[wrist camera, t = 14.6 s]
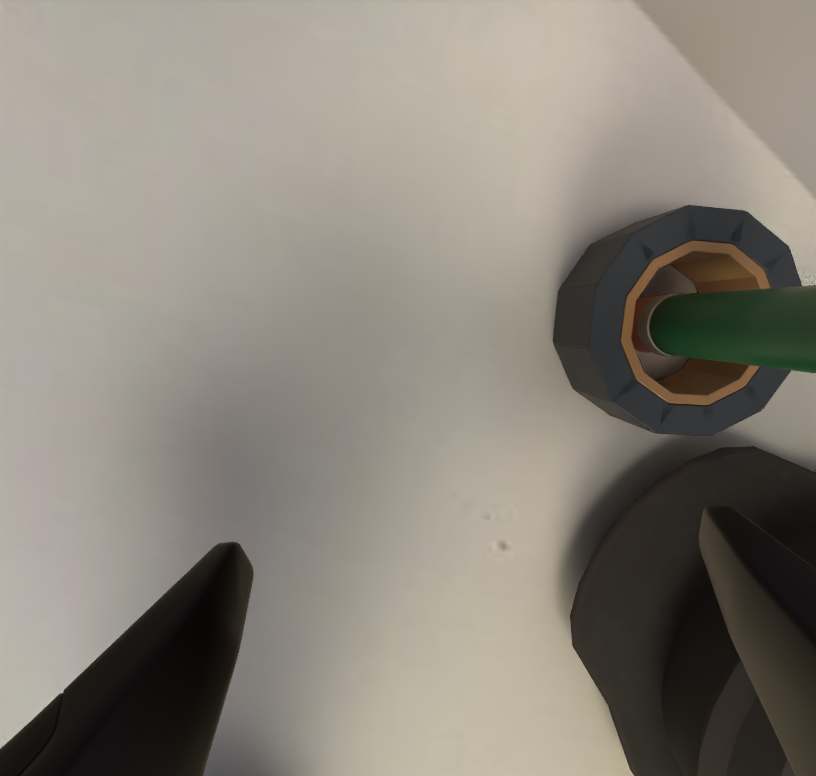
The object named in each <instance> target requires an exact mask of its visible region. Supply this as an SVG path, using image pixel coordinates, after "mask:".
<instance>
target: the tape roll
mask: <svg viewBox="0 0 816 776" xmlns="http://www.w3.org/2000/svg"><path fill="white" fill-rule="evenodd" d="M667 264H671V265H673V266H674V267H675V268H677V269H678V270H679V271H680V272H682V273H683V274H684V275H685V276H687V277H688V278H689V279H691V280H692V281H693V282H694V283H695V285H696V288H697V291H698V293H707V292H722V291H737V290H752V289H767V288H782V287H798V286H802V284H801V281H800V278H799V275H798V272H797V269H796V266H795V263H794V260H793V257H792V254H791V251H790V249H789V246H788V245H786V244H785V243H784V242H783V241H782V240H780V239H779V238H778V237H777V236H776V235H774V234H773V233H772V232H771V231H770V230H768V229H767V228H766V227H765V226H764V225H762V224H761V223H760V222H759V221H758V220H756V219H755V218H754V217H753V216H752V215H750V214H749V213H748V212H746V211H743V210H733V209H723V208H713V207H703V206H693V205H688V206H684V207H681V208H678V209H675V210H672V211H669V212H666V213H663V214H660V215H657V216H654V217H651V218H648V219H645V220H642V221H639V222H636V223H634V224H632V225H630V226H628V227H626V228H624V229H622V230H620V231H618V232H616V233H614V234H612V235H610V236H608V237H606V238H603V239H601V240H599V241H597V242H595V243H593V244H591V245H590V246H589V247H588V249H587V250H586V251H585V253H584V254H583V256H582V257H581V259H580V260H579V262H578V263H577V265H576V266H575V267H574V269H573V270H572V272H571V273H570V275H569V276H568V278H567V279H566V281H565V282H564V283H563V285H562V286H561V288H560V290H559V292H558V301H557V311H556V320H555V329H554V338H553V343H554V346H555V348H556V351H557V353H558V355H559V358H560V360H561V362H562V365H563V367H564V369H565V372H566V374H567V376H568V379H569V381H570V383H571V386H572V387H573V389H574V390H575V391H576V392H578V393H579V394H581V395H582V396H584V397H585V398H586V399H588V400H589V401H591V402H592V403H594V404H595V405H596V406H598V407H599V408H601V409H602V410H604V411H605V412H606V413H608V414H609V415H611V416H613V417H616V418H618V419H621V420H623V421H626V422H628V423H631V424H633V425H636V426H638V427H641V428H643V429H646V430H648V431H651V432H653V433H657V434H676V435H696V436H712V435H714V434H716V433H718V432H720V431H722V430H724V429H726V428H728V427H730V426H732V425H734V424H736V423H738V422H740V421H742V420H744V419H746V418H748V417H750V416H752V415H754V414H756V413H758V412H760V411H761V410H762V409H763V408H764V407H765V406H766V404H767V403H768V401H769V400H770V399H771V397H772V396H773V395H774V393H775V392H776V390H777V389H778V388H779V386H780V385H781V384H782V382H783V381H784V380H785V378H786V377H787V375H788V374H789V373H790V371H791V370H785V369H777V368H769V367H761V366H753V365H745V364H738V363H730V362H722V361H714V360H706V359H698V358H690V359H689V360H688V362H687V363H686V364H685V366H684V367H683V369H682V370H680V371H678V372H676V373H674V374H672V375H670V376H668V377H666V378H664V379H662V380H660V381H658V382H656V381H655V380H654V379H652V378H651V377H650V376H648V375H647V374H646V373H644V370H643V368H642V365H641V363H640V360H639V358H638V355H637V353H636V350H635V348H634V345H633V343H632V340H631V336H632V328H633V320H634V313H635V305H636V300H637V299H638V297H639V296H640V294H641V293H642V291H643V290H644V289H645V287H646V286H647V284H648V283H649V281H650V280H651V279H652V277H653V276H654V274H655V273H656V271H657V270H658V269H659V268H661V267H663V266H665V265H667Z"/></svg>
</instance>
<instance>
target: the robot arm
mask: <svg viewBox="0 0 816 776" xmlns="http://www.w3.org/2000/svg"><path fill="white" fill-rule="evenodd" d="M699 546H700V550H701V554H702V556H703V559H704V562H705V565H706V568H707V571H708V574H709V577H710V580H711V583H712V586H713V589H714V592H715V594H716V597H717V600H718V603H719V606H720V609H721V612H722V615H723V618H724V621H725V624H726V626H727V629H728V632H729V634H730V637H731V639H732V641H733V644H734V646H735V648H736V650H737V652H738V655H739V657H740V659H741V661H742V663H743V665H744V667H745V669H746V672H747V674H748V676H749V678H750V680H751V682H752V684H753V686H754V689H755V691H756V693H757V695H758V697H759V699H760V701H761V703H762V706H763V708H764V710H765V712H766V714H767V716H768V718H769V720H770V723H771V725H772V727H773V729H774V731H775V733H776V735H777V737H778V740H779V742H780V744H781V746H782V748H783V750H784V752H785V754H786V757H787V759H788V761H789V763H790V765H791V767H792V769H793V771H794V774H795V776H816V569H815V568H814V567H813V566H811V565H810V564H809V563H807V562H806V561H805V560H803V559H802V558H801V557H799V556H798V555H796V554H795V553H794V552H792V551H791V550H790V549H788V548H787V547H786V546H784V545H783V544H782V543H780V542H779V541H778V540H776V539H775V538H774V537H772V536H771V535H770V534H768V533H767V532H766V531H764V530H763V529H762V528H760V527H759V526H758V525H756V524H755V523H753V522H752V521H751V520H749V519H748V518H747V517H745V516H744V515H743V514H741V513H740V512H739V511H737V510H736V509H735V508H733V507H731V506H713V507H706V508H705V509H704V510H703V513H702V520H701V526H700V532H699ZM252 582H253V567H252V565H251V563H250V561H249V559H248V557H247V556H246V554H245V552H244V551H243V549H242V547H241V545H240V544H239V543H237V542H226V543H219V544H217V545H216V546H214V547H213V548H212V549H211V550H210V551H209V552H208V553H207V554H206V555H205V556H204V557H203V558H202V559H201V560H200V561H199V562H198V563H197V564H196V565H194V566H193V567H192V568H191V569H190V570H189V571H188V572H187V573H186V574H185V575H184V576H183V577H182V578H181V579H180V580H179V581H178V582H177V583H176V584H175V585H174V586H172V587H171V588H170V589H169V590H168V591H167V592H166V593H165V594H164V595H163V596H162V597H161V598H160V599H159V600H158V601H157V602H156V603H155V604H154V605H153V606H152V607H150V608H149V609H148V610H147V611H146V612H145V613H144V614H143V615H142V616H141V617H140V618H139V619H138V620H137V621H136V622H135V623H134V624H133V625H132V626H131V627H129V628H128V629H127V630H126V631H125V632H124V633H123V634H122V635H121V636H120V637H119V638H118V639H117V640H116V641H115V642H114V643H113V644H112V645H111V646H110V647H109V648H107V649H106V650H105V651H104V652H103V653H102V654H101V655H100V656H99V657H98V658H97V659H96V660H95V661H94V662H93V663H92V664H91V665H90V666H89V667H88V668H87V669H85V670H84V671H83V672H82V673H81V674H80V675H79V676H78V677H77V678H76V679H75V680H74V681H73V682H72V683H71V684H70V685H69V686H68V687H67V688H66V689H65V690H64V692H63V693H61V694H59V695H58V696H57V697H56V698H55V699H54V700H53V701H52V702H51V703H50V704H49V705H48V706H47V707H45V708H44V709H43V710H42V711H41V712H40V713H39V714H38V715H37V716H36V717H35V718H34V719H33V720H32V721H30V722H29V723H28V724H27V725H26V726H25V727H24V728H23V729H22V730H21V731H20V732H19V733H18V734H16V735H15V736H14V737H13V738H12V739H11V740H10V741H9V742H8V743H6V744H5V745H4V746H3V747H2V748H1V749H0V776H203V773H204V769H205V766H206V762H207V759H208V756H209V752H210V749H211V745H212V742H213V739H214V735H215V732H216V728H217V725H218V722H219V718H220V715H221V711H222V708H223V705H224V701H225V698H226V694H227V691H228V688H229V684H230V681H231V677H232V674H233V671H234V667H235V664H236V660H237V656H238V653H239V649H240V644H241V640H242V635H243V630H244V624H245V619H246V614H247V608H248V603H249V598H250V593H251V587H252Z"/></svg>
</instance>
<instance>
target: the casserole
mask: <svg viewBox="0 0 816 776" xmlns="http://www.w3.org/2000/svg"><path fill="white" fill-rule="evenodd" d="M713 506H731V507H733V508H735V509H736V510H737V511H739V512H740V513H741V514H743V515H744V516H745V517H747V518H748V519H749V520H751V521H752V522H753V523H755V524H756V525H758V526H759V527H760V528H762V529H763V530H764V531H766V532H767V533H768V534H770V535H771V536H772V537H774V538H775V539H776V540H778V541H779V542H780V543H782V544H783V545H784V546H786V547H787V548H788V549H790V550H791V551H792V552H794V553H795V554H796V555H798V556H799V557H801V558H802V559H803V560H805V561H806V562H807V563H809V564H810V565H811V566H813V567H814V568H815V569H816V472H814V471H811V470H809V469H807V468H804V467H802V466H799V465H797V464H795V463H792V462H790V461H788V460H785V459H783V458H781V457H778V456H776V455H774V454H771V453H769V452H766V451H764V450H762V449H759V448H757V447H755V446H747V447H726V448H720V449H717V450H715V451H712V452H710V453H707V454H705V455H702V456H700V457H697V458H695V459H692V460H690V461H688V462H686V463H685V464H683V465H682V466H680V467H679V468H677V469H676V470H674V471H673V472H671V473H670V474H668V475H667V476H665V477H664V478H662V479H661V480H659V481H657V482H656V483H655V484H653V485H652V486H651V487H650V488H649V489H648V490H647V491H646V492H645V493H644V494H643V495H642V496H641V497H639V498H638V499H637V500H636V501H635V502H634V503H633V504H632V505H631V506H630V507H629V508H628V509H627V510H625V511H624V512H623V513H622V515H621V516H620V517H619V519H618V520H617V521H616V523H615V524H614V525H613V527H612V528H611V529H610V531H609V532H608V533H607V535H606V536H605V537H604V539H603V540H602V541H601V543H600V544H599V545H598V547H597V548H596V550H595V552H594V554H593V556H592V558H591V560H590V562H589V564H588V566H587V568H586V570H585V572H584V574H583V576H582V578H581V580H580V582H579V585H578V588H577V592H576V596H575V599H574V603H573V607H572V610H571V614H570V620H571V632H572V645H573V647H574V649H575V651H576V652H577V654H578V656H579V657H580V659H581V661H582V662H583V664H584V666H585V667H586V669H587V671H588V672H589V674H590V676H591V677H592V679H593V681H594V682H595V684H596V686H597V687H598V689H599V691H600V692H601V694H602V696H603V697H604V699H605V701H606V702H607V704H608V706H609V709H610V712H611V715H612V718H613V721H614V724H615V727H616V730H617V733H618V736H619V739H620V741H621V744H622V747H623V750H624V753H625V756H626V759H627V762H628V764H629V767H630V770H631V771H632V773H633V774H634V776H795V774H794V771H793V769H792V767H791V765H790V763H789V761H788V759H787V757H786V754H785V752H784V750H783V748H782V746H781V744H780V742H779V740H778V737H777V735H776V733H775V731H774V729H773V727H772V725H771V723H770V720H769V718H768V716H767V714H766V712H765V710H764V708H763V706H762V703H761V701H760V699H759V697H758V695H757V693H756V691H755V689H754V686H753V684H752V682H751V680H750V678H749V676H748V674H747V672H746V669H745V667H744V665H743V663H742V661H741V659H740V657H739V655H738V652H737V650H736V648H735V646H734V644H733V641H732V639H731V637H730V634H729V632H728V629H727V626H726V624H725V621H724V618H723V615H722V612H721V609H720V606H719V603H718V600H717V597H716V594H715V592H714V589H713V586H712V583H711V580H710V577H709V574H708V571H707V568H706V565H705V562H704V559H703V556H702V554H701V550H700V546H699V532H700V526H701V520H702V513H703V510H704V509H705V508H706V507H713Z"/></svg>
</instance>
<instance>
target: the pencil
mask: <svg viewBox="0 0 816 776" xmlns="http://www.w3.org/2000/svg"><path fill="white" fill-rule="evenodd" d="M631 340H632V343H633V345H634V348H635V350H638V351H643V352H651V353H655V354H658V355H664V356H682V357H690V358H698V359H706V360H714V361H722V362H730V363H738V364H745V365H753V366H761V367H769V368H777V369H785V370H793V371H801V372H809V373H816V285H813V286H798V287H782V288H767V289H752V290H737V291H722V292H707V293H692V294H682V293H673V294H663V295H659V296H647V297H642V298H639V299H637V300H636V305H635V313H634V320H633V328H632V336H631Z"/></svg>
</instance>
